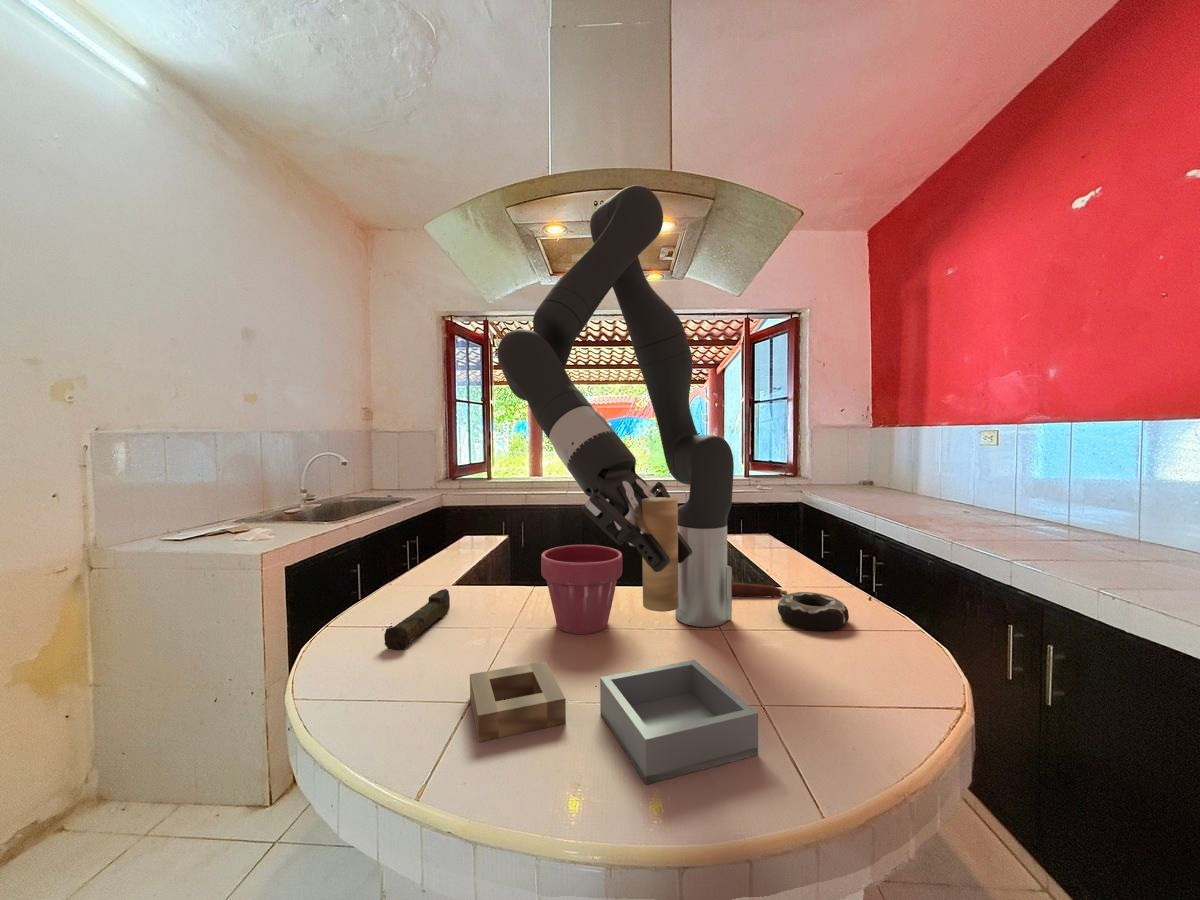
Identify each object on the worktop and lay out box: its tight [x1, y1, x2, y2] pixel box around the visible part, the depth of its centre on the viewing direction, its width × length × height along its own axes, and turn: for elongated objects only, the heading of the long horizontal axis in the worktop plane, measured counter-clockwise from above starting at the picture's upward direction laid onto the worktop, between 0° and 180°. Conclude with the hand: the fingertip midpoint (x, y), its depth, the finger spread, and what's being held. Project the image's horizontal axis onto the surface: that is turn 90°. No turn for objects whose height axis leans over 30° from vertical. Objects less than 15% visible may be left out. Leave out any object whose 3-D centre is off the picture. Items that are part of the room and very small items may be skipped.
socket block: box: [469, 661, 567, 743], centre depth 62 cm, size 10×10×3 cm
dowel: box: [641, 497, 679, 613], centre depth 56 cm, size 4×4×12 cm
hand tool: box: [384, 588, 451, 651], centre depth 88 cm, size 19×4×5 cm, turn 169°
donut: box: [777, 591, 850, 632], centre depth 90 cm, size 12×12×4 cm
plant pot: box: [540, 544, 623, 635], centre depth 88 cm, size 14×14×13 cm
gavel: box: [732, 581, 788, 598], centre depth 104 cm, size 21×5×10 cm
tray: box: [599, 659, 759, 786], centre depth 57 cm, size 13×13×4 cm
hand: (675, 562), depth 55 cm, fingers closed on dowel, 4 cm apart
